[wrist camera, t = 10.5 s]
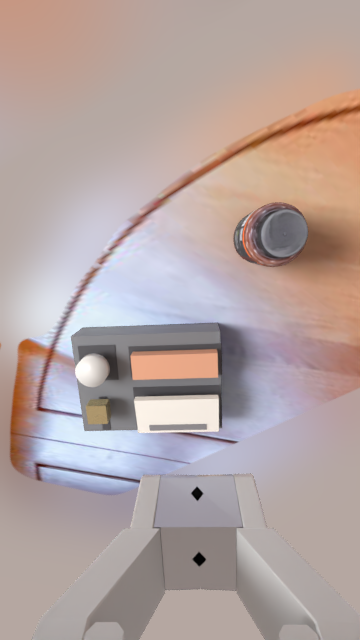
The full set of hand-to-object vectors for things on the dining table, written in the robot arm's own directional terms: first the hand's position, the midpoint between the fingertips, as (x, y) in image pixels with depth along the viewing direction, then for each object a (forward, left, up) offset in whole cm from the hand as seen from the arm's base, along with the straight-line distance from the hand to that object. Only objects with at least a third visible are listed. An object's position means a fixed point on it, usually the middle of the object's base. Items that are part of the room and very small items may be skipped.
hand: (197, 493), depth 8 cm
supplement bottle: (-8, -7, -31) cm, 33 cm away
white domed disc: (+12, +7, -26) cm, 29 cm away
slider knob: (+12, +12, -27) cm, 32 cm away
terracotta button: (+2, +7, -27) cm, 28 cm away
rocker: (+2, +13, -26) cm, 29 cm away
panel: (+6, +10, -31) cm, 33 cm away
